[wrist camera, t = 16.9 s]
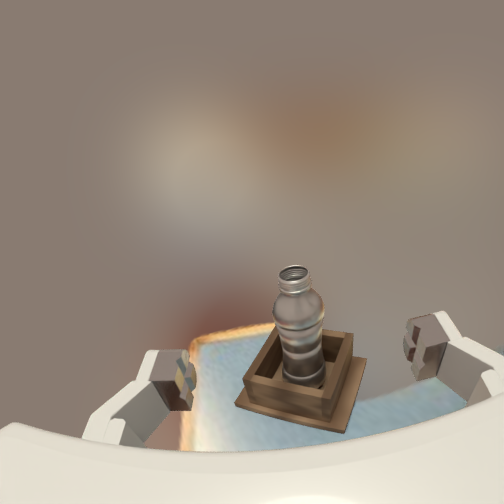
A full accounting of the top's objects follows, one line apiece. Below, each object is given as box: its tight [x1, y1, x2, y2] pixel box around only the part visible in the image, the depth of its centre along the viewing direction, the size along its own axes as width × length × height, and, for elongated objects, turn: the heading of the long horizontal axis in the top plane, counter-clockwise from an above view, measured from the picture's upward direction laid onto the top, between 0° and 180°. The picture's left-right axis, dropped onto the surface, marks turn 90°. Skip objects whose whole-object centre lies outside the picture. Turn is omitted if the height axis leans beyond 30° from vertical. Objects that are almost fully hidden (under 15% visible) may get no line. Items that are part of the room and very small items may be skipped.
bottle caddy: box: [234, 326, 367, 434], centre depth 44 cm, size 17×14×7 cm
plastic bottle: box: [272, 265, 327, 389], centre depth 41 cm, size 6×7×20 cm
